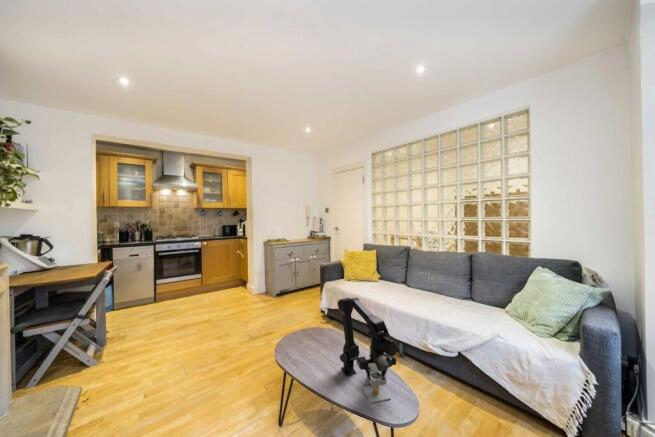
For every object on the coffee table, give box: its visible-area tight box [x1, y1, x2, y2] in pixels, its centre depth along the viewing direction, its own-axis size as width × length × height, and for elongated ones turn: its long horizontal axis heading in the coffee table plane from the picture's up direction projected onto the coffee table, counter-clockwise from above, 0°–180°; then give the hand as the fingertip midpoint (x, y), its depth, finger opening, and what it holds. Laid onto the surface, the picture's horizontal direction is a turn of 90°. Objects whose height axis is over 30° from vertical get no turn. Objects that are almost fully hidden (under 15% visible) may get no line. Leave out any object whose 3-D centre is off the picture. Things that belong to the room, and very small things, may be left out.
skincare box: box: [368, 348, 388, 379], centre depth 133 cm, size 8×7×16 cm
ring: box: [365, 370, 387, 387], centre depth 120 cm, size 7×7×2 cm
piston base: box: [362, 385, 391, 404], centre depth 120 cm, size 10×10×6 cm
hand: (375, 378), depth 120 cm, fingers closed on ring, 7 cm apart
